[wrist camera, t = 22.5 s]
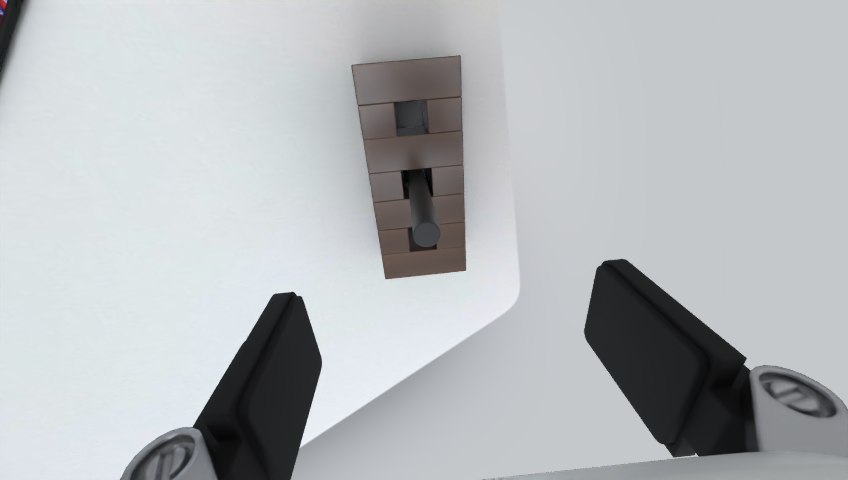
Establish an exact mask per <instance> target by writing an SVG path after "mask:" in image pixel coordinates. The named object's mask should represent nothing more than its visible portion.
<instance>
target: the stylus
mask: <svg viewBox="0 0 848 480" xmlns="http://www.w3.org/2000/svg"><path fill="white" fill-rule="evenodd" d="M407 178H408V188H409V199H410V209H411V220H412V230H413V238H414V240H415V242H416V243H417V244H418V245H420V246H423V247H430V246H433V245H435V244H436V243H437V242H438V241H439V240H440V237H441V230H440V227H439V223H438V220H437V216H436V213H435V209H434V206H433V202H432V199H431V195H430V192H429V188H428V185H427V181H426V178H425V175H424V171H423V169H412V170H408V171H407Z"/></svg>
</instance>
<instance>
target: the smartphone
mask: <svg viewBox="0 0 848 480" xmlns="http://www.w3.org/2000/svg"><path fill="white" fill-rule="evenodd" d="M22 1H23V0H0V72H1V69H2V65H3V62H4V59H5V56H6V53H7V49H8V46H9V43H10V40H11V37H12V33H13V30H14V27H15V24H16V21H17V17H18V14H19V11H20V8H21V5H22Z"/></svg>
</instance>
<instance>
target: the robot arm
mask: <svg viewBox="0 0 848 480" xmlns="http://www.w3.org/2000/svg"><path fill="white" fill-rule="evenodd" d="M584 334H585V338H586V340H587V342H588V343H589V345H590V346H591V348H592V349H593V351H594V352H595V353H596V355H597V356H598V358H599V359H600V361H601V362H602V363H603V365H604V366H605V368H606V369H607V371H608V372H609V373H610V375H611V376H612V378H613V379H614V381H615V382H616V383H617V385H618V386H619V388H620V389H621V391H622V392H623V394H624V395H625V396H626V398H627V399H628V401H629V402H630V404H631V405H632V406H633V408H634V409H635V411H636V412H637V413H638V415H639V416H640V417H641V419H642V421H643V422H644V424H645V425H646V426H647V428H648V429H649V431H650V432H651V434H652V435H653V436H654V438H655V439H656V440H657V441H658V442H659V443H661V444H664V445H665V446H666V448H667V449H668V450H669V452H670V453H671V455H672V456H673V457H682V456H691V455H695V453H696V454H697V455H698V456H699V457H688V458H678V459H668V460H658V461H649V462H640V463H630V464H621V465H611V466H602V467H592V468H583V469H573V470H565V471H555V472H546V473H538V474H528V475H519V476H510V477H501V478H492V479H484V480H848V409H847V407H846V406H845V404H844V403H843V401H842V400H841V399H840V398H839V397H837V395H835V394H834V393H833V392H832V391H831V390H829V389H828V388H826V387H825V386H823V385H822V384H820V383H819V382H817V381H815V380H813V379H811V378H809V377H807V376H805V375H803V374H801V373H798V372H795V371H793V370H790V369H786V368H782V367H778V366H768V365H763V366H758V367H755V368H754V369H753V370H749V369H748V368H747V367H746V366H745V365H743V364H744V363H745V361H746V357H744V356H743V355H742V354H741V353H740V352H738V351H737V350H736V349H735V348H734V347H732V346H731V345H730V344H729V343H727V342H726V341H725V340H724V339H722V338H721V337H720V336H719V335H718V334H716V333H715V332H714V331H713V330H712V329H710V328H709V327H708V326H707V325H705V324H704V323H703V322H702V321H701V320H699V319H698V318H697V317H696V316H694V315H693V314H692V313H690V311H688V310H687V309H686V308H685V307H683V306H682V305H681V304H680V303H678V302H677V301H676V300H675V299H673V298H672V297H671V296H670V295H668V294H667V293H666V292H665V291H664V290H662V289H661V288H660V287H659V286H658V285H656V284H655V283H654V282H653V281H652V280H650V279H649V278H648V277H646V276H645V275H644V274H643V273H642V272H641V271H639V270H638V269H637V268H636V267H634V266H633V265H632V264H631V263H629V262H628V261H627V260H625V259H618V260H608V261H604V262H603V263H602V265H601V266H599V267H598V268H597V270H596V275H595V279H594V284H593V289H592V294H591V299H590V304H589V309H588V314H587V319H586V324H585V329H584ZM321 367H322V359H321V355H320V352H319V349H318V345H317V342H316V339H315V336H314V333H313V330H312V326H311V323H310V320H309V317H308V314H307V311H306V308H305V304H304V301H303V299H302V297H301V296H297V295H296V294H295V293H294V292H288V293H278V294H274V295H273V296H272V297H271V299H270V301H269V303H268V304H267V306H266V308H265V309H264V311H263V313H262V314H261V316H260V318H259V319H258V321H257V323H256V324H255V326H254V328H253V329H252V331H251V333H250V334H249V336H248V338H247V340H246V341H245V342H244V343H243V344H242V346H241V347H240V349H239V350H238V352H237V354H236V355H235V357H234V359H233V360H232V362H231V364H230V365H229V367H228V369H227V370H226V372H225V374H224V375H223V377H222V379H221V380H220V382H219V384H218V385H217V387H216V389H215V390H214V392H213V394H212V395H211V397H210V399H209V400H208V402H207V404H206V405H205V407H204V409H203V410H202V412H201V414H200V415H199V417H198V419H197V420H196V422H195V424H194V425H193V427H182V428H179V429H175V430H172V431H169V432H167V433H165V434H163V435H161V436H160V437H158V438H156V439H155V440H154V441H152V442H151V443H149V444H148V445H147V446H145V447H144V448H143V449H142V450H141V451H140V452H139V453H138V454H137V455H136V456H135V457H134V458H133V460H132V461H131V462H130V463H129V465H128V466H127V467H126V469H125V471H124V473H123V475H122V477H121V479H120V480H290V479H291V476H292V472H293V469H294V465H295V462H296V458H297V454H298V451H299V447H300V444H301V440H302V436H303V433H304V429H305V426H306V422H307V418H308V415H309V411H310V408H311V404H312V400H313V397H314V393H315V390H316V386H317V383H318V379H319V375H320V372H321Z"/></svg>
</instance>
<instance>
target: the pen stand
mask: <svg viewBox="0 0 848 480" xmlns="http://www.w3.org/2000/svg"><path fill="white" fill-rule="evenodd" d="M352 73H353V79H354V85H355V92H356V98H357V104H358V111H359V117H360V123H361V129H362V136H363V142H364V148H365V154H366V161H367V167H368V173H369V179H370V186H371V192H372V198H373V204H374V210H375V217H376V223H377V229H378V236H379V242H380V248H381V254H382V261H383V267H384V274H385V279H393V278H402V277H411V276H421V275H430V274H439V273H449V272H458V271H466V249H465V222H464V221H465V213H464V169H463V131H462V97H461V96H462V90H461V56H460V55H459V56H448V57H436V58H425V59H413V60H402V61H390V62H379V63H367V64H356V65H352ZM415 100H422V106H423V120H424V126H417V127H406V128H398V127H397V118H396V109H395V102H404V101H415ZM422 168H427V173H428V180H426V181H427V185H428V188H429V192H430V195H431V199H432V202H433V206H434V209H435V213H436V216H437V220H438V223H439V227H440V230H441V237H440V240H439V241H438V242H437V243H436V244H435V245H433V246H430V247H423V246H420V245H418V244H417V243H416V242H415V240H414V238H413V230H412V229H409V227H412V220H411V209H410V199H409V188H408V182H404V181H403V172H402V170H412V169H422Z"/></svg>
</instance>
